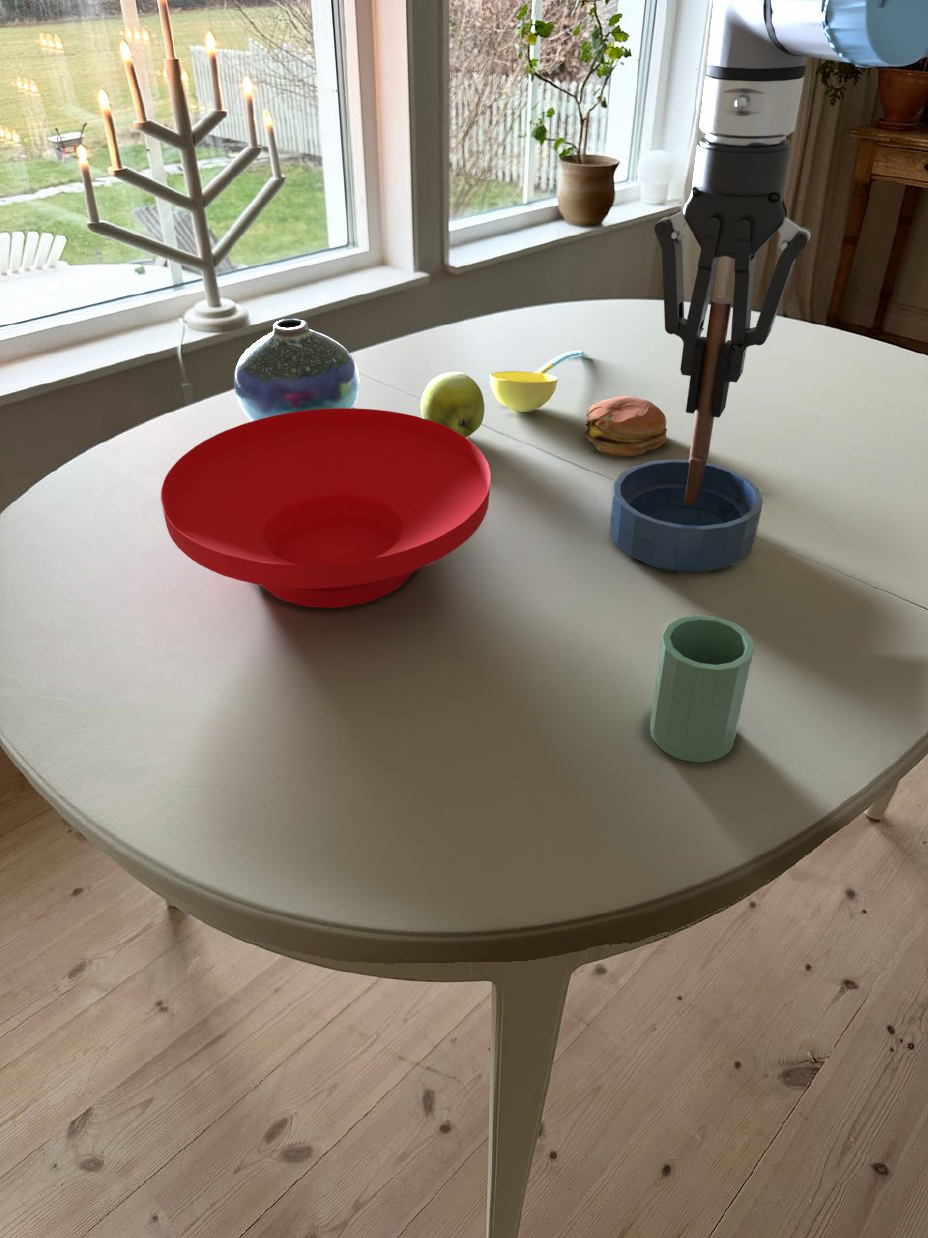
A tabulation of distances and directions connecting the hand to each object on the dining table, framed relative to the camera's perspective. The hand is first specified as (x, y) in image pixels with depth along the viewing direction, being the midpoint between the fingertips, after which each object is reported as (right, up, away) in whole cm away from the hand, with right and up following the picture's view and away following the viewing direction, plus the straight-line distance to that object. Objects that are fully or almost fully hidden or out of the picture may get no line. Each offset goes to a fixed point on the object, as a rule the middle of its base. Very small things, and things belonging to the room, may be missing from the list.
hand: (705, 409), depth 89 cm
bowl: (-36, -15, +3) cm, 39 cm away
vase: (-44, +4, +30) cm, 53 cm away
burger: (-3, +1, +25) cm, 25 cm away
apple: (-25, +2, +27) cm, 36 cm away
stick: (0, -8, +6) cm, 10 cm away
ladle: (-12, +12, +39) cm, 43 cm away
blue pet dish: (-1, -12, +6) cm, 13 cm away
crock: (-6, -29, -17) cm, 34 cm away
